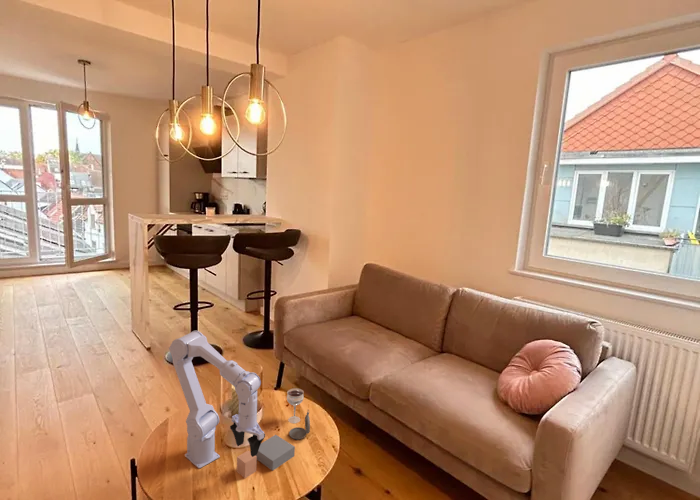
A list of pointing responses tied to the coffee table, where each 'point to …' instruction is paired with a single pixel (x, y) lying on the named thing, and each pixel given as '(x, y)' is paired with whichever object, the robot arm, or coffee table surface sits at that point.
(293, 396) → the wineglass
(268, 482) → the coffee table surface
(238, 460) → the terracotta block
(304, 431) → the pocket watch
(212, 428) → the robot arm
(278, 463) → the slate slab
